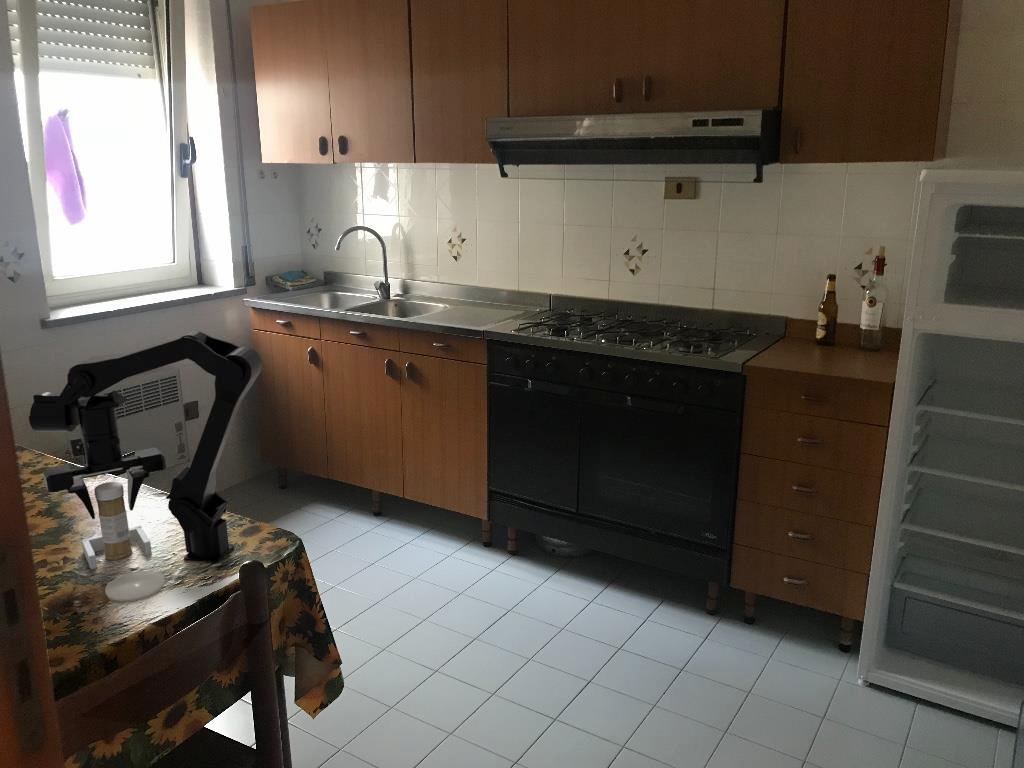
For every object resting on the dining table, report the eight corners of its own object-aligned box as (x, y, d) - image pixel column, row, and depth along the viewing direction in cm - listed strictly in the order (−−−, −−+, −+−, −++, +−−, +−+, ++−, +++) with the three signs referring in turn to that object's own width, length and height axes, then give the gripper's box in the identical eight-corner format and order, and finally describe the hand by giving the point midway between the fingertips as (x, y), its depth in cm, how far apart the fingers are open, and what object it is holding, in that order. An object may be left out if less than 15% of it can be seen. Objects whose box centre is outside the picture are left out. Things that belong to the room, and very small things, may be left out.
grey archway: (83, 552, 150) (81, 539, 149) (142, 537, 156) (140, 525, 155) (91, 569, 144) (88, 556, 143) (151, 553, 149) (150, 541, 149)
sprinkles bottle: (126, 547, 152) (116, 478, 148) (136, 554, 149) (126, 485, 145) (100, 555, 149) (89, 486, 145) (110, 563, 146) (100, 492, 142)
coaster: (175, 576, 141) (175, 572, 141) (144, 604, 132) (143, 599, 132) (127, 572, 142) (127, 568, 142) (93, 599, 134) (92, 595, 134)
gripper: (147, 410, 154) (157, 487, 158) (33, 428, 144) (47, 511, 148) (161, 425, 145) (171, 507, 150) (40, 446, 135) (55, 533, 139)
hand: (112, 514), depth 147 cm, fingers open, 6 cm apart
